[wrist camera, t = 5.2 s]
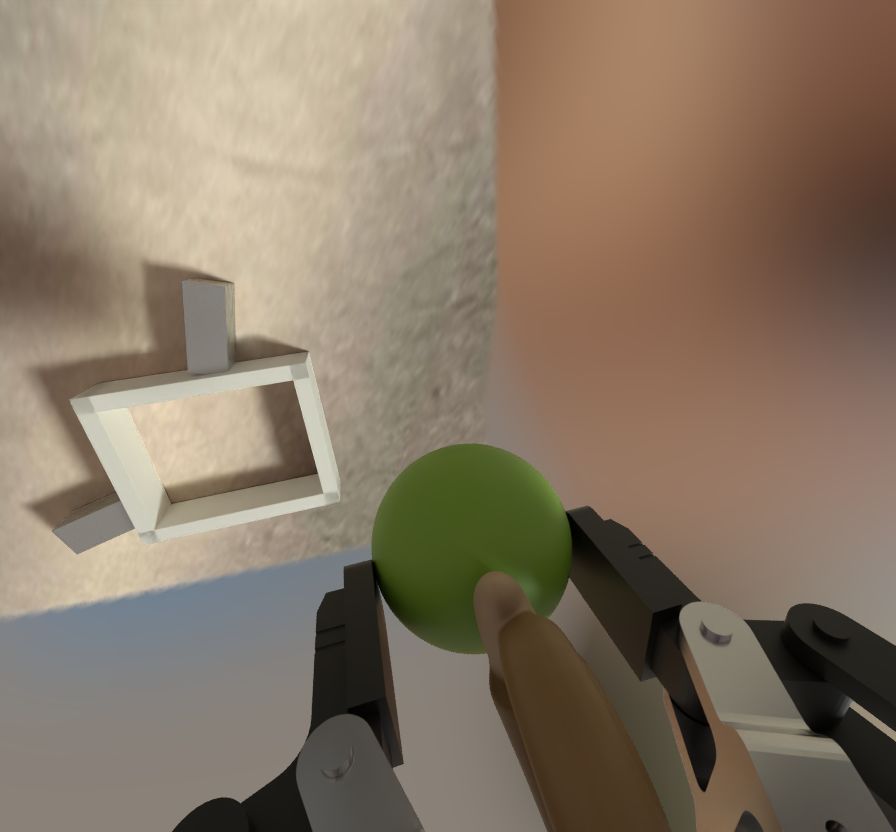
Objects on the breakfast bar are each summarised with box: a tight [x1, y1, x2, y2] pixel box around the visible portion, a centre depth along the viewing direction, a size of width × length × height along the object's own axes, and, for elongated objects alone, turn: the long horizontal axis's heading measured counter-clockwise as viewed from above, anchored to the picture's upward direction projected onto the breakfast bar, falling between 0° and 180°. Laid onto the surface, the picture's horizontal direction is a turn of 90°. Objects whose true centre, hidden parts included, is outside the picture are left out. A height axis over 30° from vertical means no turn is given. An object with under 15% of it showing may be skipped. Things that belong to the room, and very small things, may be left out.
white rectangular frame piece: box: [52, 278, 340, 554], centre depth 21 cm, size 13×15×2 cm
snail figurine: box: [372, 444, 671, 832], centre depth 9 cm, size 5×6×12 cm
